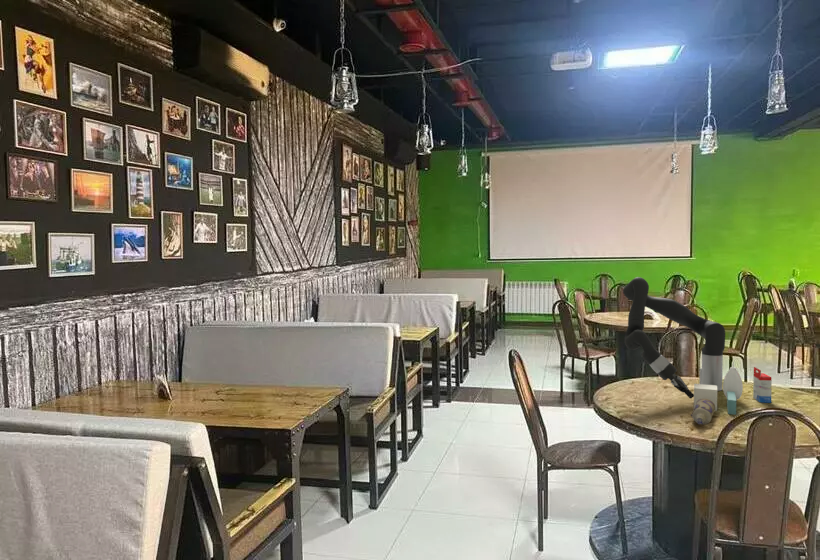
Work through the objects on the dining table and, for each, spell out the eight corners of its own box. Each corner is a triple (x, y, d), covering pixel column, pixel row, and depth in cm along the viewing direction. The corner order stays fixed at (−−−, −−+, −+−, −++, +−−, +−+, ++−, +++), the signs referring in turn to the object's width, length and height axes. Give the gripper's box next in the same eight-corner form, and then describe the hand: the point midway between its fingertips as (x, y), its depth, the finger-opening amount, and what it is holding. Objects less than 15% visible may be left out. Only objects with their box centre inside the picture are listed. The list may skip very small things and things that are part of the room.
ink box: (771, 403, 260) (772, 370, 259) (759, 402, 261) (760, 370, 260) (764, 398, 269) (764, 366, 268) (752, 397, 270) (753, 366, 269)
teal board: (727, 413, 245) (728, 399, 244) (726, 404, 259) (727, 391, 259) (736, 414, 243) (736, 400, 243) (734, 405, 258) (734, 391, 257)
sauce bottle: (741, 399, 267) (742, 360, 266) (743, 403, 260) (743, 363, 259) (722, 398, 270) (722, 359, 269) (723, 402, 263) (723, 362, 262)
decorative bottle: (695, 412, 249) (695, 396, 248) (715, 415, 244) (715, 399, 244) (687, 428, 227) (687, 411, 226) (708, 431, 223) (709, 414, 222)
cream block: (693, 408, 254) (693, 388, 253) (694, 403, 262) (694, 383, 261) (717, 410, 250) (717, 390, 249) (716, 405, 258) (717, 385, 257)
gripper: (657, 369, 270) (686, 398, 265) (655, 375, 258) (685, 406, 253) (670, 359, 267) (699, 388, 262) (668, 364, 255) (699, 395, 250)
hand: (692, 397), depth 258 cm, fingers closed
